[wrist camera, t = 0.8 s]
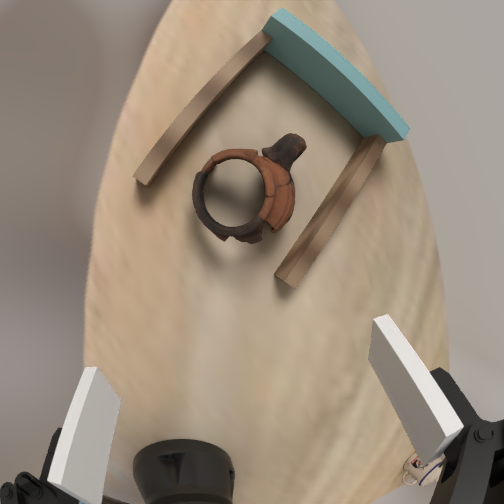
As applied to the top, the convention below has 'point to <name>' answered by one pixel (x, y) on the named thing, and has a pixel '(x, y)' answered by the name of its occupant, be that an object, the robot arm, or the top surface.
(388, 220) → the top surface
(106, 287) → the top surface
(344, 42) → the top surface
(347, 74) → the end stop
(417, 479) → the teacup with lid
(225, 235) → the pottery mug
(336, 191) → the channel
